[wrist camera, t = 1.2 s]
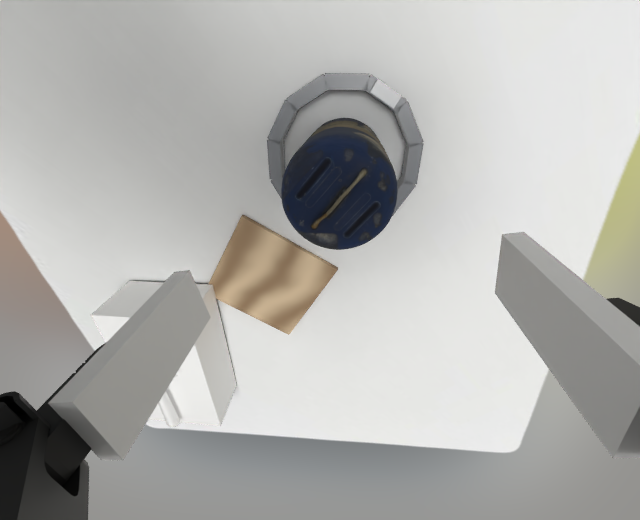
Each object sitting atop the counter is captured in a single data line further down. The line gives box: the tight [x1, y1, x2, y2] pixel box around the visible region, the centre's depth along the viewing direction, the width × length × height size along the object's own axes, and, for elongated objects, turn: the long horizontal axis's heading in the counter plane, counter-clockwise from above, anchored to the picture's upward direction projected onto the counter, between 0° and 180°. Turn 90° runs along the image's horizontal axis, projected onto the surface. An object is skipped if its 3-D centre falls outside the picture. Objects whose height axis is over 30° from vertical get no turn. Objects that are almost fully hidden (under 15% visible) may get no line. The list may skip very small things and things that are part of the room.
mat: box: [209, 215, 338, 335], centre depth 48 cm, size 16×16×1 cm
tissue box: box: [91, 281, 237, 427], centre depth 51 cm, size 14×25×11 cm, turn 1°
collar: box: [267, 73, 423, 216], centre depth 36 cm, size 18×18×4 cm
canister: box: [281, 118, 398, 250], centre depth 30 cm, size 10×10×18 cm
